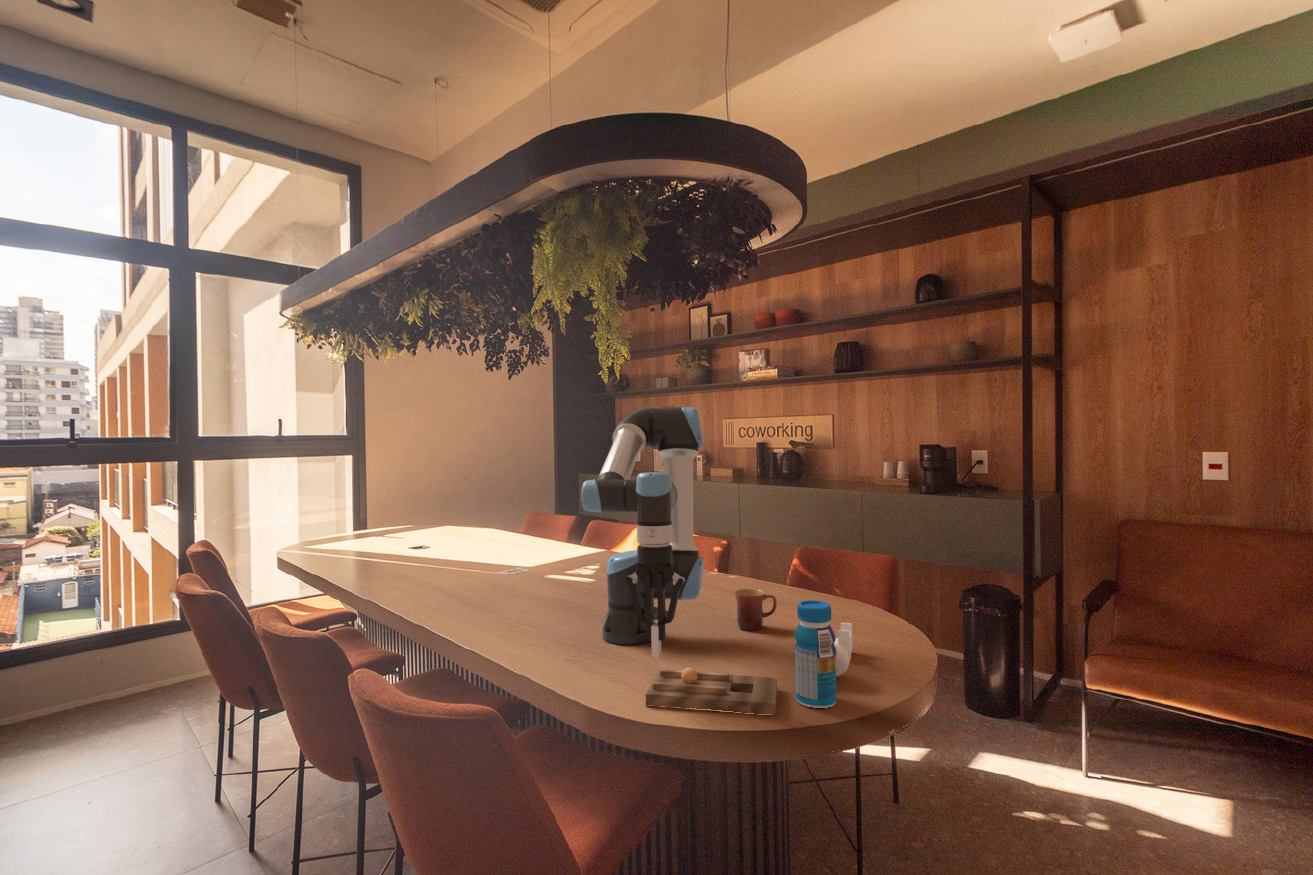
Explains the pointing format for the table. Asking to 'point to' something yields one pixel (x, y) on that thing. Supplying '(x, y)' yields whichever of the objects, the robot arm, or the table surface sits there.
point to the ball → (689, 676)
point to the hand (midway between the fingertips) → (656, 654)
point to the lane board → (714, 692)
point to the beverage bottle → (815, 655)
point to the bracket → (845, 638)
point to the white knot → (841, 660)
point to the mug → (752, 608)
